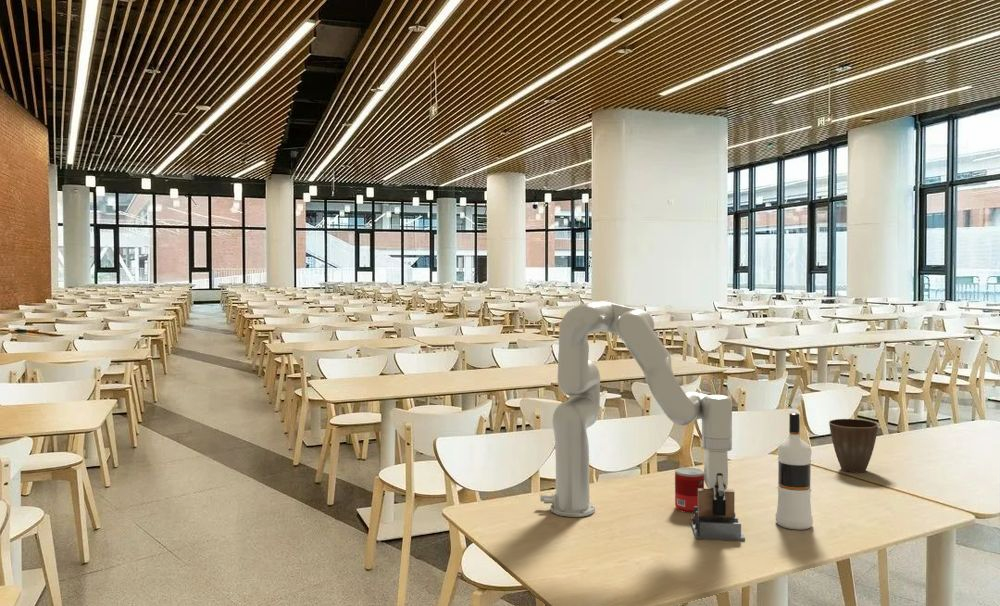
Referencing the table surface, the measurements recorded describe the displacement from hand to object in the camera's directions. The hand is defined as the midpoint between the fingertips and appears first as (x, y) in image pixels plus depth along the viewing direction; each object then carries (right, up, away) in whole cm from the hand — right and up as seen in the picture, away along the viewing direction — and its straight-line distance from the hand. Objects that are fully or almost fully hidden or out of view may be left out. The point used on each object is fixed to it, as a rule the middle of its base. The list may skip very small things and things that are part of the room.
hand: (716, 509), depth 197 cm
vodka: (+22, -5, +4) cm, 23 cm away
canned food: (-2, -5, +19) cm, 20 cm away
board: (0, -5, 0) cm, 5 cm away
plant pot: (+63, -3, +58) cm, 85 cm away
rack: (0, -6, 0) cm, 6 cm away
